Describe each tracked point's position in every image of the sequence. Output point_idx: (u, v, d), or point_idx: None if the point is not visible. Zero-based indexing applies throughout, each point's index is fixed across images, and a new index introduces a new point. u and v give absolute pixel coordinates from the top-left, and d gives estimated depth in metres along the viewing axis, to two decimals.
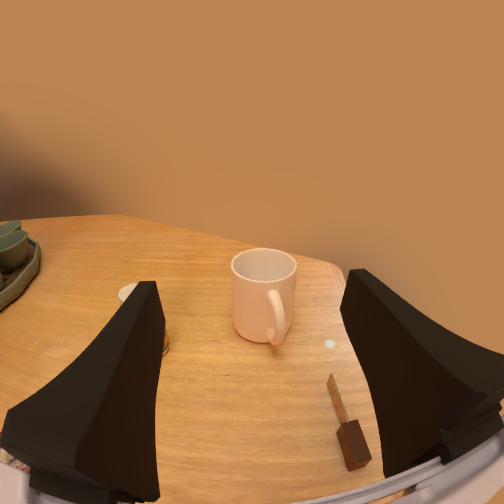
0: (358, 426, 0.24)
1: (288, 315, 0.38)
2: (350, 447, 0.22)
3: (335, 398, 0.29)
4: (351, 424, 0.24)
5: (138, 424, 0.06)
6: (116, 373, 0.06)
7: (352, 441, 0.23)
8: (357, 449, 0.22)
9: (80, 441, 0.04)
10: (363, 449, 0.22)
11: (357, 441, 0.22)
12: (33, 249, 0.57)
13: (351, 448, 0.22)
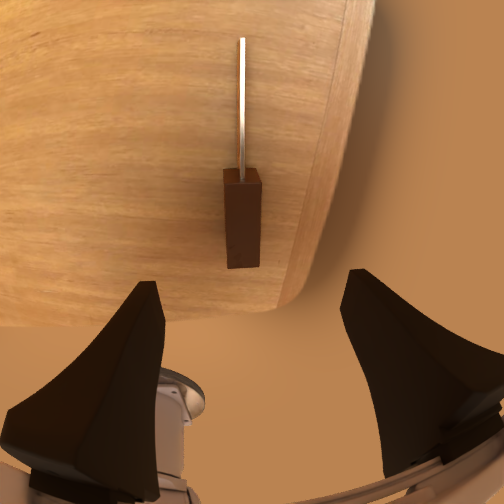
0: (257, 200, 0.14)
1: None
2: (227, 239, 0.15)
3: (238, 96, 0.13)
4: (245, 192, 0.14)
5: (138, 424, 0.06)
6: (116, 373, 0.06)
7: (234, 228, 0.15)
8: (239, 246, 0.16)
9: (80, 441, 0.04)
10: (249, 248, 0.16)
11: (244, 230, 0.15)
12: None
13: (228, 242, 0.15)
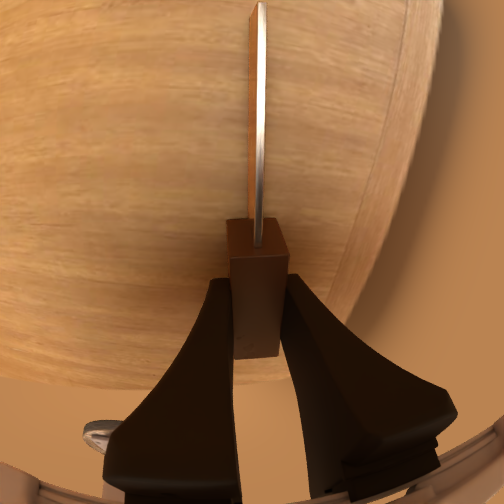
0: (281, 279, 0.09)
1: None
2: (234, 328, 0.10)
3: (252, 106, 0.07)
4: (262, 268, 0.09)
5: None
6: (229, 373, 0.06)
7: (244, 316, 0.10)
8: (251, 336, 0.10)
9: (230, 452, 0.04)
10: (265, 338, 0.11)
11: (259, 318, 0.10)
12: None
13: (235, 332, 0.10)
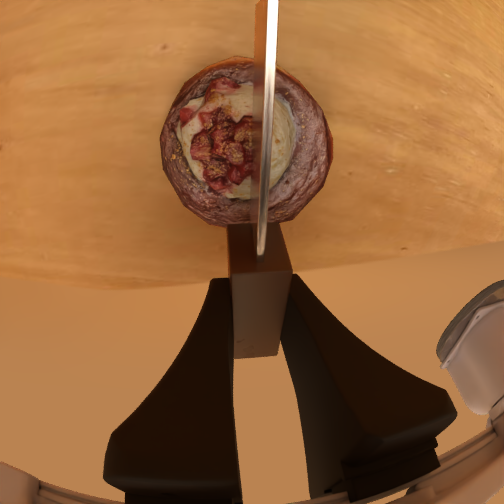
0: (283, 292, 0.09)
1: None
2: (234, 333, 0.10)
3: (256, 112, 0.07)
4: (264, 283, 0.09)
5: None
6: (229, 373, 0.06)
7: (245, 324, 0.10)
8: (251, 340, 0.10)
9: (231, 452, 0.04)
10: (265, 341, 0.11)
11: (259, 325, 0.10)
12: None
13: (235, 337, 0.10)
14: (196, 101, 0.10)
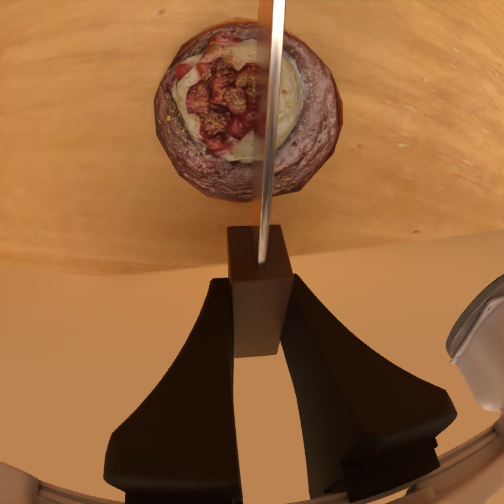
0: (284, 298, 0.09)
1: None
2: (234, 336, 0.10)
3: (259, 117, 0.06)
4: (265, 291, 0.08)
5: None
6: (229, 373, 0.06)
7: (245, 327, 0.10)
8: (251, 341, 0.11)
9: (231, 452, 0.04)
10: (265, 342, 0.11)
11: (259, 328, 0.10)
12: None
13: (236, 339, 0.10)
14: (194, 57, 0.08)
